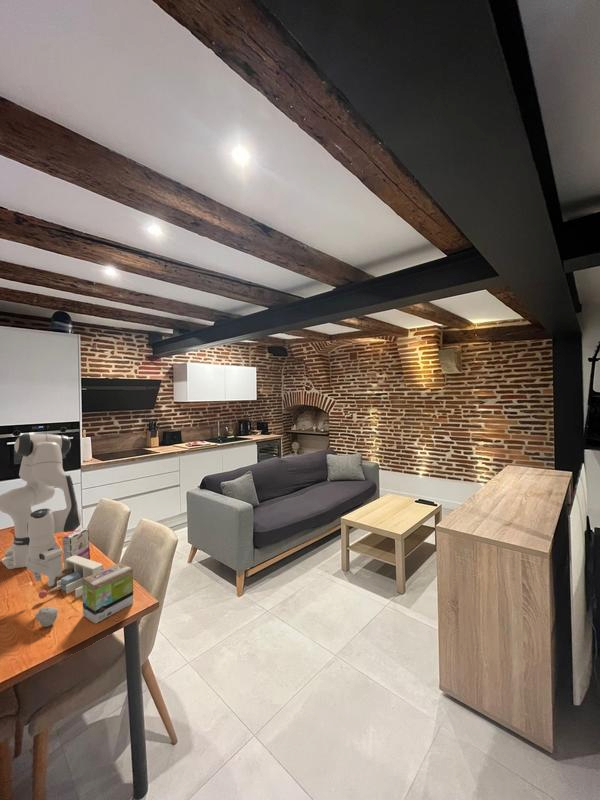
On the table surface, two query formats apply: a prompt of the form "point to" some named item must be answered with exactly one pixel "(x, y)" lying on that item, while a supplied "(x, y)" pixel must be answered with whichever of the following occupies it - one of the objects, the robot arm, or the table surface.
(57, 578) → the walnut block
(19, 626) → the table surface
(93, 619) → the tea box
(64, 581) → the tethered block
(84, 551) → the candy bar box
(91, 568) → the lane shelf
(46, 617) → the grey rounded lump
